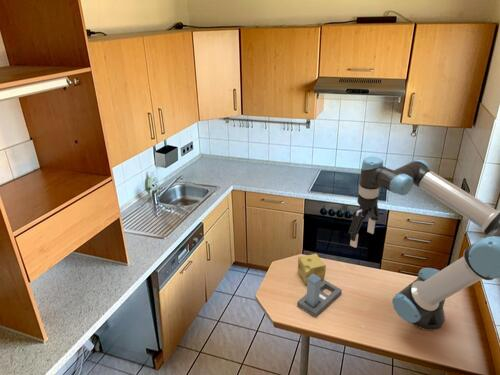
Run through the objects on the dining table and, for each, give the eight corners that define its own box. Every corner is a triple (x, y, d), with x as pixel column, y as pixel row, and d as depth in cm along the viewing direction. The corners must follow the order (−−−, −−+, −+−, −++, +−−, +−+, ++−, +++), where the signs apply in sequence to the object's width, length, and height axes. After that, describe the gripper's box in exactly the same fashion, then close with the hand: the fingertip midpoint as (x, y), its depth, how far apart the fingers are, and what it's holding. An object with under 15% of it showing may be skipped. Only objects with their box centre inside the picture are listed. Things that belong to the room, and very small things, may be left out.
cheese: (304, 286, 180) (305, 269, 176) (296, 271, 189) (297, 255, 185) (324, 281, 183) (326, 265, 178) (315, 267, 192) (316, 252, 187)
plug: (318, 306, 168) (321, 278, 161) (313, 311, 166) (315, 283, 158) (311, 301, 171) (313, 273, 164) (305, 306, 169) (307, 278, 161)
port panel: (341, 293, 175) (341, 289, 174) (315, 317, 162) (315, 313, 161) (323, 283, 181) (323, 279, 180) (297, 305, 169) (297, 301, 168)
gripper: (375, 181, 159) (369, 224, 169) (342, 203, 144) (337, 248, 154) (392, 187, 154) (384, 230, 164) (359, 209, 139) (353, 256, 149)
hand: (362, 239), depth 159 cm, fingers open, 13 cm apart
